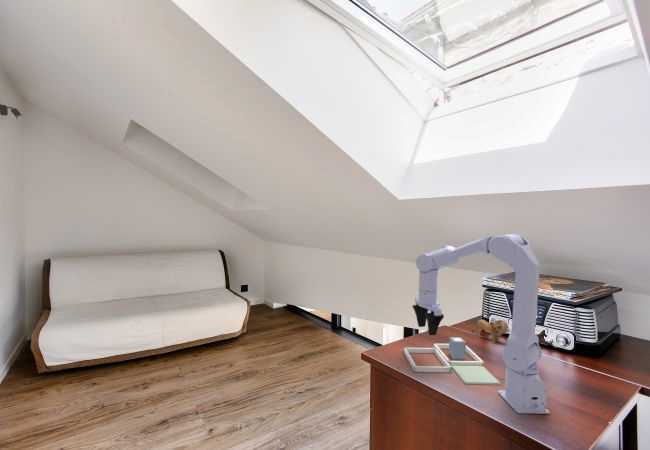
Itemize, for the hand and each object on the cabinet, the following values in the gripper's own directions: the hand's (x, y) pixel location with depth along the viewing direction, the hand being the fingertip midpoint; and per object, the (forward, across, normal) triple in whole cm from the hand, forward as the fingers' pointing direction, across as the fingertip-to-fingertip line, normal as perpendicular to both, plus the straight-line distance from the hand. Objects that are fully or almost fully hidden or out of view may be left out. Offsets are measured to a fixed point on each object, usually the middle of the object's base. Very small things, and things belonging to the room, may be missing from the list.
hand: (426, 330), depth 105 cm
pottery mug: (+11, +10, -51) cm, 53 cm away
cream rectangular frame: (+10, +2, -12) cm, 16 cm away
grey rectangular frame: (+10, 0, 0) cm, 10 cm away
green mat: (+10, -11, -10) cm, 18 cm away
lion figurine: (+11, +15, -34) cm, 39 cm away
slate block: (+10, +2, -12) cm, 16 cm away
